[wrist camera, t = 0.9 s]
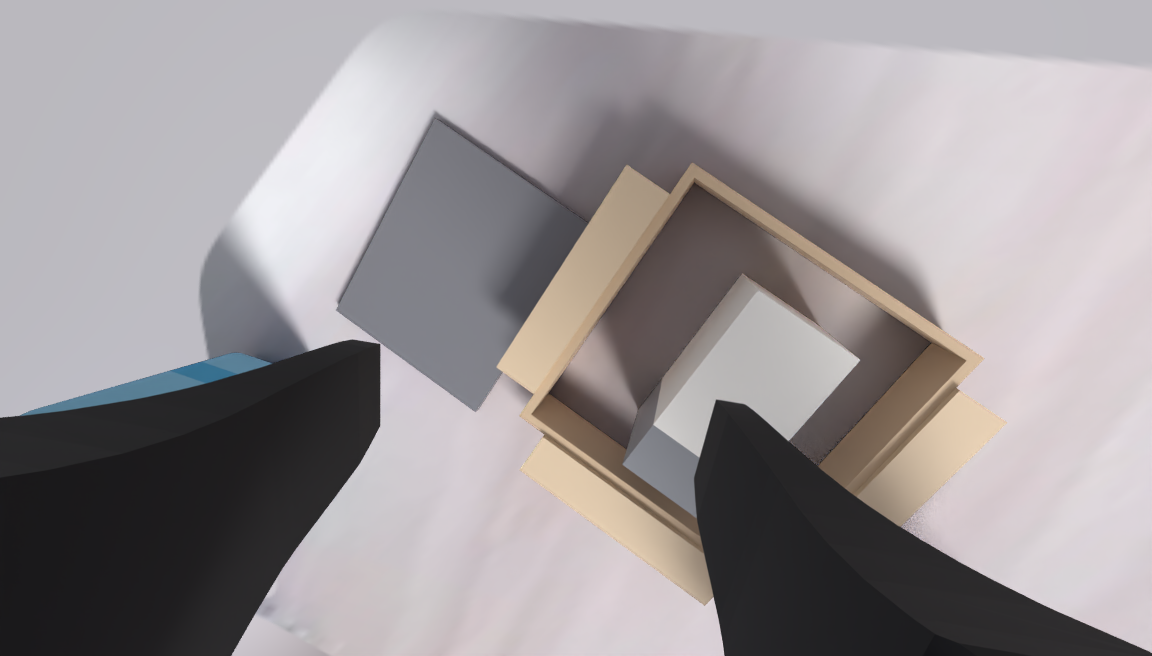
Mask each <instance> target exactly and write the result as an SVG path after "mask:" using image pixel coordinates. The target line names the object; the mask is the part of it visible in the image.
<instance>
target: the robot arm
mask: <svg viewBox="0 0 1152 656" xmlns="http://www.w3.org/2000/svg"><path fill="white" fill-rule="evenodd" d="M379 427H380V344H377V343H370V342H364V341H358V340H347V341H342V342H338V343H335V344H331V345H328V346H325V347H322V348H318V349H315V350H312V351H309V352H306V353H303V354H300V355H297V356H294V357H291V358H288V359H285V360H282V361H279V362H276V363H273V364H270V365H267V366H264V367H260V368H257V369H253V370H250V371H247V372H243V373H240V374H237V375H233V376H230V377H226V378H223V379H220V380H216V381H213V382H209V383H205V384H201V385H198V386H194V387H189V388H185V389H181V390H177V391H172V392H167V393H163V394H158V395H154V396H149V397H144V398H139V399H134V400H128V401H121V402H115V403H109V404H103V405H97V406H90V407H84V408H78V409H72V410H65V411H58V412H49V413H41V414H32V415H24V416H15V417H3V418H0V656H231V655H232V653H233V652H234V649H235V648H236V646H237V645H238V643H239V641H240V639H241V638H242V636H243V634H244V632H245V630H246V629H247V627H248V625H249V623H250V622H251V620H252V618H253V616H254V615H255V613H256V611H257V610H258V608H259V606H260V605H261V603H262V601H263V600H264V598H265V597H266V595H267V593H268V592H269V590H270V588H271V586H272V585H273V583H274V581H275V580H276V578H277V577H278V575H279V573H280V572H281V570H282V568H283V567H284V565H285V564H286V563H287V561H288V560H289V558H290V557H291V555H292V554H293V552H294V551H295V550H296V548H297V547H298V545H299V544H300V543H301V541H302V540H303V539H304V537H305V536H306V535H307V533H308V532H309V531H310V530H311V528H312V527H313V526H314V524H315V523H316V522H317V520H318V519H319V518H320V516H321V515H322V514H323V512H324V511H325V510H326V508H327V507H328V506H329V504H330V503H331V502H332V500H333V499H334V498H335V496H336V495H337V494H338V492H339V491H340V490H341V488H342V487H343V486H344V484H345V483H346V482H347V480H348V479H349V478H350V476H351V475H352V473H353V472H354V471H355V469H356V468H357V467H358V465H359V464H360V462H361V460H362V459H363V457H364V455H365V453H366V452H367V450H368V448H369V446H370V444H371V442H372V440H373V439H374V437H375V435H376V433H377V431H378V429H379ZM694 488H695V503H696V514H697V523H698V528H699V532H700V537H701V542H702V546H703V551H704V556H705V560H706V565H707V569H708V574H709V578H710V583H711V587H712V592H713V596H714V601H715V605H716V609H717V614H718V618H719V624H720V629H721V635H722V641H723V647H724V655H725V656H1152V653H1151V652H1149V651H1147V650H1144V649H1142V648H1140V647H1137V646H1135V645H1133V644H1130V643H1128V642H1126V641H1124V640H1121V639H1119V638H1117V637H1114V636H1112V635H1110V634H1108V633H1105V632H1103V631H1101V630H1098V629H1096V628H1094V627H1091V626H1089V625H1087V624H1085V623H1082V622H1080V621H1078V620H1075V619H1073V618H1071V617H1069V616H1066V615H1064V614H1062V613H1059V612H1057V611H1055V610H1053V609H1050V608H1048V607H1046V606H1044V605H1042V604H1040V603H1038V602H1036V601H1034V600H1032V599H1030V598H1028V597H1026V596H1024V595H1022V594H1020V593H1018V592H1016V591H1014V590H1012V589H1010V588H1008V587H1006V586H1004V585H1002V584H1000V583H998V582H996V581H994V580H992V579H990V578H988V577H986V576H984V575H982V574H980V573H979V572H977V571H975V570H973V569H971V568H969V567H967V566H965V565H964V564H962V563H960V562H958V561H956V560H955V559H953V558H951V557H950V556H948V555H946V554H944V553H943V552H941V551H939V550H937V549H936V548H934V547H932V546H931V545H929V544H927V543H925V542H924V541H922V540H920V539H919V538H917V537H915V536H914V535H912V534H911V533H909V532H907V531H906V530H904V529H903V528H901V527H900V526H898V525H896V524H895V523H894V522H892V521H891V520H889V519H888V518H886V517H885V516H883V515H882V514H880V513H879V512H877V511H876V510H874V509H873V508H871V507H870V506H868V505H867V504H866V503H864V502H863V501H861V500H860V499H859V498H857V497H856V496H855V495H853V494H852V493H850V492H849V491H848V490H847V489H845V488H844V487H843V486H842V485H840V484H839V483H838V482H836V481H835V480H834V479H833V478H831V477H830V476H829V475H828V474H826V473H825V472H824V471H823V470H821V469H820V468H819V467H818V466H817V465H815V464H814V463H813V462H812V461H811V460H809V459H808V458H807V457H806V456H805V455H804V454H802V453H801V452H800V451H799V450H798V449H797V448H796V447H794V446H793V445H792V444H791V443H790V442H789V441H788V440H787V439H785V438H784V437H783V436H782V435H781V434H780V433H779V432H778V431H777V430H775V429H774V428H773V427H772V426H771V425H770V424H769V423H768V422H766V421H765V420H764V419H763V418H762V417H761V416H760V415H758V414H757V413H756V412H755V411H754V410H752V409H751V408H750V407H748V406H747V405H746V404H742V403H735V402H729V401H723V400H717V399H716V401H715V404H714V408H713V412H712V415H711V419H710V422H709V426H708V429H707V433H706V436H705V440H704V444H703V447H702V451H701V454H700V458H699V461H698V465H697V469H696V472H695V476H694Z"/></svg>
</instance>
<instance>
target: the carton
mask: <svg viewBox="0 0 1152 656" xmlns="http://www.w3.org/2000/svg"><path fill="white" fill-rule="evenodd" d="M694 183H695V184H697V185H698V186H700V187H701V188H703V189H704V190H706V191H707V192H709V193H710V194H712V195H713V196H715V197H716V198H718V199H719V200H721V201H722V202H724V203H725V204H726V205H728V206H729V207H731V208H732V209H734V210H735V211H737V212H738V213H740V214H741V215H743V216H744V217H746V218H747V219H749V220H750V221H752V222H753V223H755V224H756V225H758V226H759V227H761V228H762V229H764V230H765V231H767V232H768V233H770V234H771V235H773V236H774V237H775V238H777V239H778V240H780V241H781V242H783V243H784V244H786V245H787V246H789V247H790V248H792V249H793V250H795V251H796V252H798V253H799V254H801V255H802V256H804V257H805V258H807V259H808V260H810V261H811V262H813V263H814V264H816V265H817V266H819V267H820V268H821V269H823V270H824V271H826V272H827V273H829V274H830V275H832V276H833V277H835V278H836V279H838V280H839V281H841V282H842V283H844V284H845V285H847V286H848V287H850V288H851V289H853V290H854V291H856V292H857V293H859V294H860V295H862V296H863V297H865V298H866V299H868V300H869V301H870V302H872V303H873V304H875V305H876V306H878V307H879V308H881V309H882V310H884V311H885V312H887V313H888V314H890V315H891V316H893V317H894V318H896V319H897V320H899V321H900V322H902V323H903V324H905V325H906V326H908V327H909V328H911V329H912V330H914V331H915V332H916V333H918V334H919V335H921V336H922V337H924V338H925V339H927V340H928V341H930V342H931V344H930V345H929V346H928V347H927V348H926V349H925V350H924V351H923V353H922V354H921V355H920V356H919V357H918V358H917V359H916V360H915V361H914V362H913V363H912V365H911V366H910V367H909V368H908V369H907V370H906V371H905V372H904V373H903V374H902V375H901V376H900V378H899V379H898V380H897V381H896V382H895V383H894V384H893V385H892V386H891V387H890V388H889V389H888V391H887V392H886V393H885V394H884V395H883V396H882V397H881V398H880V399H879V400H878V401H877V402H876V404H875V405H874V406H873V407H872V408H871V409H870V410H869V411H868V412H867V413H866V414H865V415H864V417H863V418H862V419H861V420H860V421H859V422H858V423H857V424H856V425H855V426H854V427H853V429H852V430H851V431H850V432H849V433H848V434H847V435H846V436H845V437H844V438H843V439H842V440H841V442H840V443H839V444H838V445H837V446H836V447H835V448H834V449H833V450H832V451H831V452H830V453H829V455H828V456H827V457H826V458H825V459H824V460H823V461H822V462H821V463H820V464H819V465H818V467H819V468H820V469H821V470H823V471H824V472H825V473H826V474H828V475H829V476H830V477H831V478H833V479H834V480H835V481H836V482H838V483H839V484H840V485H842V486H843V487H844V488H845V489H847V490H848V491H849V492H850V493H852V494H853V495H855V496H856V497H857V498H859V499H860V500H861V501H863V502H864V503H866V504H867V505H868V506H870V507H871V508H873V509H874V510H876V511H877V512H879V513H880V514H882V515H883V516H885V517H886V518H888V519H889V520H891V521H892V522H894V523H895V524H896V525H898V526H900V527H901V526H902V525H903V524H904V523H905V522H906V521H907V520H908V519H909V518H910V517H911V516H912V515H913V514H914V513H915V512H916V511H917V510H918V509H919V508H920V507H921V506H922V505H923V504H924V503H925V502H927V501H928V500H929V499H930V498H931V497H932V496H933V495H934V494H935V493H936V492H937V491H938V490H939V489H940V488H941V487H942V486H943V485H944V484H945V483H946V482H947V481H948V480H949V479H950V478H951V477H952V476H953V475H954V474H955V473H956V472H957V471H958V470H959V469H960V468H961V467H962V466H963V465H964V464H966V463H967V462H968V461H969V460H970V459H971V458H972V457H973V456H974V455H975V454H976V453H977V452H978V451H979V450H980V449H981V448H982V447H983V446H984V445H985V444H986V443H987V442H988V441H989V440H990V439H991V438H992V437H993V436H994V435H995V434H996V433H997V432H998V431H999V430H1000V429H1001V428H1002V427H1003V426H1005V425H1006V424H1007V422H1006V421H1004V420H1003V419H1001V418H1000V417H998V416H997V415H995V414H994V413H992V412H991V411H989V410H988V409H987V408H985V407H984V406H982V405H981V404H979V403H978V402H976V401H975V400H973V399H972V398H970V397H969V396H967V395H966V394H964V393H963V392H961V391H960V390H958V389H957V388H956V387H957V386H958V385H959V384H960V383H961V382H962V381H963V380H964V379H965V378H966V377H967V376H968V375H969V374H970V373H971V372H972V371H973V370H974V369H975V368H976V367H977V366H978V365H979V364H980V363H981V362H982V361H983V360H984V358H983V357H981V356H980V355H979V354H977V353H976V352H974V351H973V350H971V349H970V348H968V347H967V346H965V345H964V344H962V343H961V342H959V341H958V340H956V339H955V338H953V337H952V336H950V335H949V334H947V333H946V332H944V331H943V330H941V329H940V328H938V327H937V326H935V325H934V324H932V323H931V322H929V321H928V320H926V319H925V318H923V317H922V316H920V315H919V314H917V313H916V312H914V311H913V310H911V309H910V308H908V307H907V306H905V305H904V304H902V303H901V302H900V301H898V300H897V299H895V298H894V297H892V296H891V295H889V294H888V293H886V292H885V291H883V290H882V289H880V288H879V287H877V286H876V285H874V284H873V283H871V282H870V281H868V280H867V279H865V278H864V277H862V276H861V275H859V274H858V273H856V272H855V271H853V270H852V269H850V268H849V267H847V266H846V265H844V264H843V263H841V262H840V261H838V260H837V259H835V258H834V257H832V256H831V255H829V254H828V253H826V252H825V251H824V250H822V249H821V248H819V247H818V246H816V245H815V244H813V243H812V242H810V241H809V240H807V239H806V238H804V237H803V236H801V235H800V234H798V233H797V232H795V231H794V230H792V229H791V228H789V227H788V226H786V225H785V224H783V223H782V222H780V221H779V220H777V219H776V218H774V217H773V216H771V215H770V214H768V213H767V212H765V211H764V210H762V209H761V208H759V207H758V206H756V205H755V204H753V203H752V202H750V201H749V200H747V199H746V198H745V197H743V196H742V195H740V194H739V193H737V192H736V191H734V190H733V189H731V188H730V187H728V186H727V185H725V184H724V183H722V182H721V181H719V180H718V179H716V178H715V177H713V176H712V175H710V174H709V173H707V172H706V171H704V170H703V169H701V168H700V167H698V166H697V165H695V164H694V163H691V164H690V166H689V167H688V169H687V170H686V172H685V173H684V175H683V176H682V178H681V179H680V180H679V182H678V183H677V185H676V186H675V188H674V189H673V191H672V192H671V194H669V193H668V192H666V191H665V190H663V189H662V188H660V187H659V186H657V185H656V184H654V183H653V182H652V181H650V180H649V179H647V178H646V177H644V176H643V175H641V174H640V173H638V172H637V171H635V170H634V169H632V168H631V167H629V166H628V165H626V166H625V168H624V169H623V171H622V172H621V174H620V175H619V177H618V179H617V180H616V182H615V183H614V185H613V186H612V188H611V189H610V191H609V193H608V194H607V196H606V197H605V199H604V200H603V202H602V203H601V205H600V207H599V208H598V210H597V211H596V213H595V214H594V216H593V217H592V219H591V221H590V222H589V224H588V225H587V227H586V228H585V230H584V231H583V233H582V235H581V236H580V238H579V239H578V241H577V242H576V244H575V245H574V247H573V249H572V250H571V252H570V253H569V255H568V256H567V258H566V259H565V261H564V263H563V264H562V266H561V267H560V269H559V270H558V272H557V273H556V275H555V277H554V278H553V280H552V281H551V283H550V284H549V286H548V287H547V289H546V291H545V292H544V294H543V295H542V297H541V298H540V300H539V301H538V303H537V305H536V306H535V308H534V309H533V311H532V312H531V314H530V315H529V317H528V318H527V320H526V322H525V323H524V325H523V326H522V328H521V329H520V331H519V332H518V334H517V336H516V337H515V339H514V340H513V342H512V343H511V345H510V346H509V348H508V350H507V351H506V353H505V354H504V356H503V357H502V359H501V360H500V362H499V364H498V365H497V368H498V369H499V370H501V371H502V372H504V373H505V374H506V375H508V376H509V377H510V378H512V379H513V380H515V381H516V382H517V383H519V384H520V385H522V386H523V387H524V388H526V389H527V390H529V391H530V392H531V393H533V394H534V395H533V396H532V398H531V399H530V401H529V402H528V404H527V405H526V407H525V408H524V409H523V411H522V412H521V414H520V415H519V416H520V417H521V418H523V419H524V420H525V421H527V422H528V423H530V424H531V425H532V426H534V427H535V428H536V429H538V430H539V431H541V432H542V433H543V434H545V435H544V436H543V438H542V439H541V440H540V442H539V443H538V445H537V446H536V447H535V449H534V450H533V452H532V453H531V454H530V456H529V457H528V459H527V460H526V462H525V463H524V464H523V466H522V467H521V469H520V471H522V472H523V473H524V474H526V475H527V476H528V477H530V478H531V479H532V480H534V481H535V482H537V483H538V484H539V485H541V486H542V487H543V488H545V489H546V490H548V491H549V492H550V493H552V494H553V495H554V496H556V497H557V498H558V499H560V500H561V501H563V502H564V503H565V504H567V505H568V506H569V507H571V508H572V509H573V510H575V511H576V512H578V513H579V514H580V515H582V516H583V517H584V518H586V519H587V520H588V521H590V522H591V523H593V524H594V525H595V526H597V527H598V528H599V529H601V530H602V531H603V532H605V533H606V534H608V535H609V536H610V537H612V538H613V539H614V540H616V541H617V542H618V543H620V544H621V545H623V546H624V547H625V548H627V549H628V550H629V551H631V552H632V553H633V554H635V555H636V556H638V557H639V558H640V559H642V560H643V561H644V562H646V563H647V564H648V565H650V566H651V567H653V568H654V569H655V570H657V571H658V572H659V573H661V574H662V575H664V576H665V577H666V578H668V579H669V580H670V581H672V582H673V583H674V584H676V585H677V586H679V587H680V588H681V589H683V590H684V591H685V592H687V593H688V594H689V595H691V596H692V597H694V598H695V599H696V600H698V601H699V602H700V603H702V604H703V605H704V606H705V605H706V604H707V603H708V602H709V601H710V600H711V599H712V598H713V597H714V596H713V592H712V587H711V583H710V578H709V574H708V569H707V565H706V560H705V556H704V551H703V546H702V542H701V537H700V532H699V528H698V523H697V518H696V517H694V516H693V515H691V514H690V513H689V512H687V511H686V510H684V509H683V508H682V507H680V506H679V505H678V504H676V503H675V502H673V501H672V500H671V499H669V498H668V497H666V496H665V495H664V494H662V493H661V492H660V491H658V490H657V489H655V488H654V487H653V486H651V485H650V484H648V483H647V482H646V481H644V480H643V479H642V478H640V477H639V476H637V475H636V474H635V473H633V472H632V471H630V470H629V469H628V468H626V467H625V466H624V465H622V464H623V460H624V457H625V453H626V450H627V449H625V448H624V447H623V446H621V445H620V444H618V443H617V442H616V441H614V440H613V439H611V438H610V437H609V436H607V435H606V434H605V433H603V432H602V431H600V430H599V429H598V428H596V427H595V426H593V425H592V424H591V423H589V422H588V421H586V420H585V419H584V418H582V417H581V416H579V415H578V414H577V413H575V412H574V411H573V410H571V409H570V408H568V407H567V406H566V405H564V404H563V403H561V402H560V401H559V400H557V399H556V398H554V397H553V396H552V395H550V394H549V392H550V391H551V389H552V388H553V386H554V385H555V383H556V382H557V381H558V379H559V378H560V376H561V375H562V373H563V372H564V370H565V369H566V368H567V366H568V365H569V363H570V362H571V360H572V359H573V357H574V356H575V355H576V353H577V352H578V350H579V349H580V347H581V346H582V344H583V343H584V341H585V340H586V339H587V337H588V336H589V334H590V333H591V331H592V330H593V328H594V327H595V326H596V324H597V323H598V321H599V320H600V318H601V317H602V315H603V314H604V313H605V311H606V310H607V308H608V307H609V305H610V304H611V302H612V301H613V300H614V298H615V297H616V295H617V294H618V292H619V291H620V289H621V288H622V286H623V285H624V284H625V282H626V281H627V279H628V278H629V276H630V275H631V273H632V272H633V271H634V269H635V268H636V266H637V265H638V263H639V262H640V260H641V259H642V258H643V256H644V255H645V253H646V252H647V250H648V249H649V247H650V246H651V245H652V243H653V242H654V240H655V239H656V237H657V236H658V234H659V233H660V231H661V230H662V229H663V227H664V226H665V224H666V223H667V221H668V220H669V218H670V217H671V216H672V214H673V213H674V211H675V210H676V208H677V207H678V205H679V204H680V203H681V201H682V200H683V198H684V197H685V195H686V194H687V192H688V191H689V190H690V188H691V187H692V185H693V184H694Z"/></svg>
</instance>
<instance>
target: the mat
mask: <svg viewBox="0 0 1152 656" xmlns="http://www.w3.org/2000/svg"><path fill="white" fill-rule="evenodd" d="M588 224H589V223H588V222H586V221H585V220H583V219H582V218H580V217H579V216H578V215H576V214H575V213H573V212H572V211H570V210H569V209H567V208H566V207H565V206H563V205H562V204H560V203H559V202H557V201H556V200H554V199H553V198H551V197H550V196H549V195H547V194H546V193H544V192H543V191H541V190H540V189H538V188H537V187H536V186H534V185H533V184H531V183H530V182H528V181H527V180H525V179H524V178H522V177H521V176H520V175H518V174H517V173H515V172H514V171H512V170H511V169H509V168H508V167H507V166H505V165H504V164H502V163H501V162H499V161H498V160H496V159H495V158H493V157H492V156H491V155H489V154H488V153H486V152H485V151H483V150H482V149H480V148H479V147H478V146H476V145H475V144H473V143H472V142H470V141H469V140H467V139H466V138H464V137H463V136H462V135H460V134H459V133H457V132H456V131H454V130H453V129H451V128H450V127H449V126H447V125H446V124H444V123H443V122H441V121H440V120H438V119H436V118H435V119H434V121H433V123H432V125H431V127H430V129H429V131H428V133H427V135H426V136H425V138H424V140H423V142H422V144H421V146H420V148H419V150H418V152H417V154H416V156H415V158H414V160H413V162H412V164H411V166H410V168H409V169H408V171H407V173H406V175H405V177H404V179H403V181H402V183H401V185H400V187H399V189H398V191H397V193H396V195H395V197H394V199H393V200H392V202H391V204H390V206H389V208H388V210H387V212H386V214H385V216H384V218H383V220H382V222H381V224H380V226H379V228H378V230H377V232H376V233H375V235H374V237H373V239H372V241H371V243H370V245H369V247H368V249H367V251H366V253H365V255H364V257H363V259H362V261H361V263H360V265H359V266H358V268H357V270H356V272H355V274H354V276H353V278H352V280H351V282H350V284H349V286H348V288H347V290H346V292H345V294H344V296H343V297H342V299H341V301H340V303H339V305H338V307H337V309H336V311H338V312H339V313H340V314H342V315H343V316H344V317H346V318H347V319H349V320H350V321H351V322H353V323H354V324H355V325H357V326H358V327H360V328H361V329H362V330H364V331H365V332H366V333H368V334H369V335H371V336H372V337H373V338H375V339H376V340H377V341H379V342H380V343H382V344H383V345H384V346H386V347H387V348H388V349H390V350H391V351H392V352H394V353H395V354H397V355H398V356H399V357H401V358H402V359H403V360H405V361H406V362H408V363H409V364H410V365H412V366H413V367H414V368H416V369H417V370H419V371H420V372H421V373H423V374H424V375H425V376H427V377H428V378H430V379H431V380H432V381H434V382H435V383H436V384H438V385H439V386H441V387H442V388H443V389H445V390H446V391H447V392H449V393H450V394H451V395H453V396H454V397H456V398H457V399H458V400H460V401H461V402H462V403H464V404H465V405H467V406H468V407H469V408H471V409H472V410H473V411H475V412H476V411H477V410H478V409H479V408H480V406H481V405H482V403H483V402H484V400H485V399H486V397H487V396H488V394H489V393H490V391H491V389H492V388H493V386H494V385H495V383H496V382H497V380H498V379H499V377H500V376H501V374H502V373H503V372H502V371H501V370H499V369H498V368H497V365H498V364H499V362H500V360H501V359H502V357H503V356H504V354H505V353H506V351H507V350H508V348H509V346H510V345H511V343H512V342H513V340H514V339H515V337H516V336H517V334H518V332H519V331H520V329H521V328H522V326H523V325H524V323H525V322H526V320H527V318H528V317H529V315H530V314H531V312H532V311H533V309H534V308H535V306H536V305H537V303H538V301H539V300H540V298H541V297H542V295H543V294H544V292H545V291H546V289H547V287H548V286H549V284H550V283H551V281H552V280H553V278H554V277H555V275H556V273H557V272H558V270H559V269H560V267H561V266H562V264H563V263H564V261H565V259H566V258H567V256H568V255H569V253H570V252H571V250H572V249H573V247H574V245H575V244H576V242H577V241H578V239H579V238H580V236H581V235H582V233H583V231H584V230H585V228H586V227H587V225H588Z"/></svg>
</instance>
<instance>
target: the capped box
mask: <svg viewBox="0 0 1152 656" xmlns="http://www.w3.org/2000/svg"><path fill="white" fill-rule="evenodd" d="M859 361H860V359H859V358H857V357H856V356H855V355H854V354H853V353H851V352H850V351H849V350H848V349H847V348H845V347H844V346H843V345H842V344H841V343H839V342H838V341H837V340H836V339H835V338H833V337H832V336H831V335H830V334H829V333H827V332H826V331H825V330H824V329H823V328H821V327H820V326H819V325H817V324H816V323H815V322H813V321H812V320H810V319H809V318H807V317H806V316H804V315H803V314H801V313H800V312H798V311H797V310H795V309H794V308H793V307H791V306H790V305H788V304H787V303H785V302H784V301H782V300H781V299H779V298H778V297H776V296H775V295H773V294H772V293H771V292H769V291H768V290H766V289H765V288H763V287H762V286H760V285H759V284H757V283H756V282H754V281H753V280H751V279H750V278H749V277H747V276H746V275H744V274H743V273H742V274H741V276H740V277H739V278H738V279H737V281H736V282H735V283H734V285H733V286H732V287H731V289H730V290H729V291H728V293H727V294H726V295H725V297H724V298H723V299H722V301H721V302H720V303H719V304H718V306H717V307H716V308H715V310H714V311H713V312H712V314H711V315H710V316H709V318H708V319H707V320H706V322H705V323H704V324H703V325H702V327H701V328H700V329H699V331H698V332H697V333H696V335H695V336H694V337H693V339H692V340H691V341H690V343H689V344H688V345H687V346H686V348H685V349H684V350H683V352H682V353H681V354H680V356H679V357H678V358H677V360H676V361H675V362H674V364H673V365H672V366H671V368H670V369H669V370H668V371H667V373H666V374H665V375H664V377H663V378H662V379H661V381H660V382H659V383H658V385H657V386H656V387H655V389H654V390H653V391H652V392H651V394H650V395H649V396H648V398H647V399H646V400H645V402H644V403H643V404H642V406H641V407H640V408H639V410H638V412H637V416H636V419H635V423H634V426H633V429H632V433H631V436H630V440H629V443H628V447H627V450H626V453H625V457H624V460H623V464H622V465H624V466H625V467H626V468H628V469H629V470H630V471H632V472H633V473H635V474H636V475H637V476H639V477H640V478H642V479H643V480H644V481H646V482H647V483H648V484H650V485H651V486H653V487H654V488H655V489H657V490H658V491H660V492H661V493H662V494H664V495H665V496H666V497H668V498H669V499H671V500H672V501H673V502H675V503H676V504H678V505H679V506H680V507H682V508H683V509H684V510H686V511H687V512H689V513H690V514H691V515H693V516H694V517H696V518H697V514H696V503H695V488H694V476H695V472H696V469H697V465H698V461H699V458H700V454H701V451H702V447H703V444H704V440H705V436H706V433H707V429H708V426H709V422H710V419H711V415H712V412H713V408H714V404H715V401H716V399H717V400H723V401H729V402H735V403H742V404H746V405H747V406H748V407H750V408H751V409H752V410H754V411H755V412H756V413H757V414H758V415H760V416H761V417H762V418H763V419H764V420H765V421H766V422H768V423H769V424H770V425H771V426H772V427H773V428H774V429H775V430H777V431H778V432H779V433H780V434H781V435H782V436H783V437H784V438H785V439H787V440H788V441H789V440H790V439H791V438H792V437H793V436H794V435H795V434H796V432H797V431H798V430H799V429H800V428H801V427H802V426H803V425H804V423H805V422H806V421H807V420H808V419H809V418H810V417H811V415H812V414H813V413H814V412H815V411H816V410H817V409H818V408H819V406H820V405H821V404H822V403H823V402H824V401H825V400H826V399H827V397H828V396H829V395H830V394H831V393H832V392H833V391H834V389H835V388H836V387H837V386H838V385H839V384H840V383H841V382H842V380H843V379H844V378H845V377H846V376H847V375H848V374H849V373H850V371H851V370H852V369H853V368H854V367H855V366H856V365H857V363H858V362H859Z"/></svg>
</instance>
